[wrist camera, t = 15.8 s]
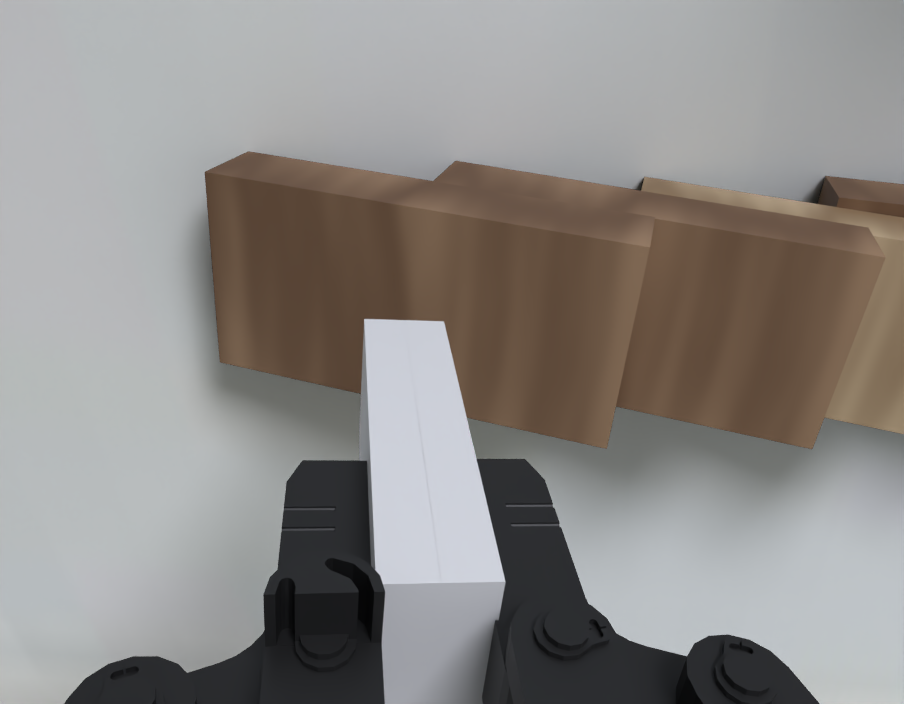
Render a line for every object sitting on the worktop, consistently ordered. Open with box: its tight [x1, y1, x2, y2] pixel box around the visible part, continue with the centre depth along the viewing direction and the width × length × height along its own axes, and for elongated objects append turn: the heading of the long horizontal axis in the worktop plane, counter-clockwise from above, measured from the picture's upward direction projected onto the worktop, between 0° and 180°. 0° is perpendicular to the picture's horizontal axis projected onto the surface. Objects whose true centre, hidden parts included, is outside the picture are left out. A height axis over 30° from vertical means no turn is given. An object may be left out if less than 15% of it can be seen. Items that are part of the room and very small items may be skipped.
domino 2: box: [434, 161, 886, 449], centre depth 19 cm, size 2×5×10 cm
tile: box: [641, 177, 904, 434], centre depth 20 cm, size 2×5×10 cm
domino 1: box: [205, 152, 655, 449], centre depth 19 cm, size 2×5×10 cm
